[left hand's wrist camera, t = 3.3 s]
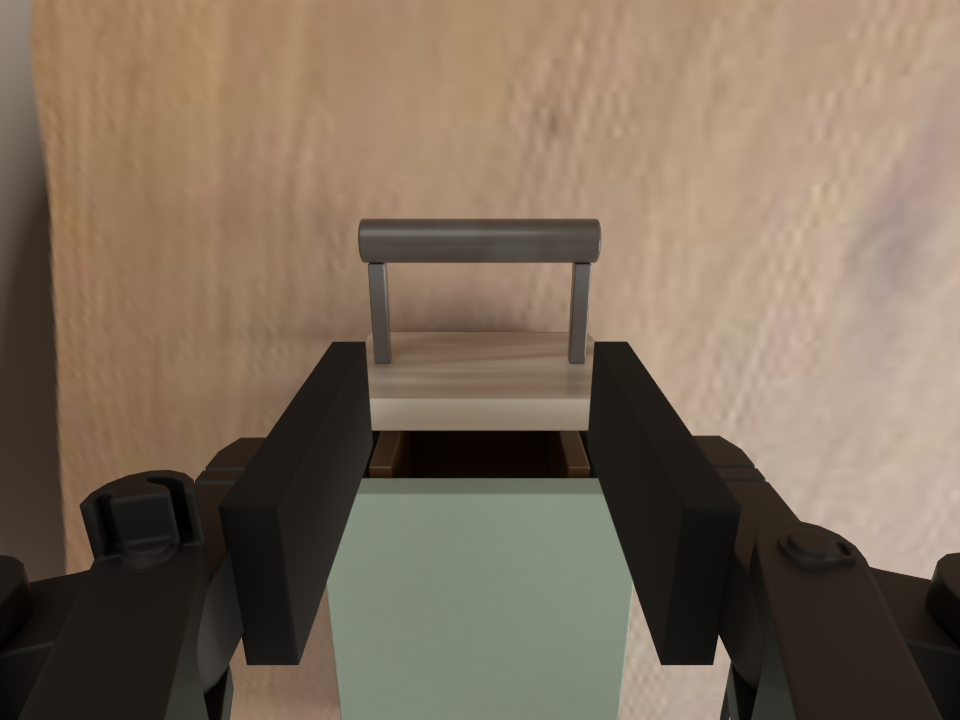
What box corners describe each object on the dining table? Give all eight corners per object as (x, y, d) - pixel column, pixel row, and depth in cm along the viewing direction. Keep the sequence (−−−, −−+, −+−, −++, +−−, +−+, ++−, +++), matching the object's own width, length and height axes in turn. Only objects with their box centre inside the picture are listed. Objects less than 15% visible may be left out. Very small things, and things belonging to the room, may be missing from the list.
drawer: (360, 206, 25) (316, 234, 18) (598, 206, 25) (642, 234, 18) (392, 673, 34) (371, 807, 27) (566, 673, 34) (588, 808, 27)
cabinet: (364, 385, 29) (315, 494, 20) (594, 385, 29) (644, 494, 20) (388, 713, 36) (360, 895, 28) (570, 713, 36) (599, 895, 28)
